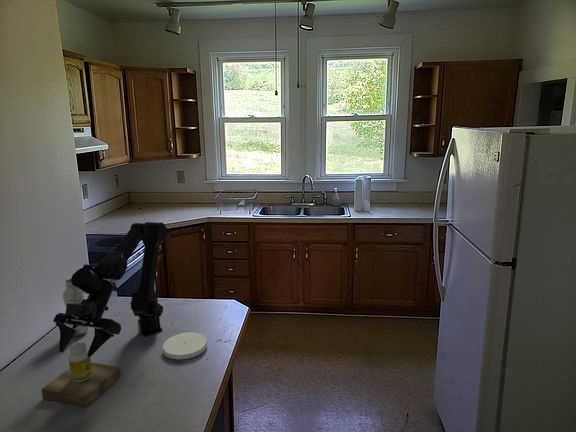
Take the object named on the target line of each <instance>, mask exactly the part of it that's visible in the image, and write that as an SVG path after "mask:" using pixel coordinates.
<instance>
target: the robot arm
mask: <svg viewBox="0 0 576 432" xmlns="http://www.w3.org/2000/svg"><path fill="white" fill-rule="evenodd" d="M167 233H168V228H167V226H166V225H165V223H164V222H155V221H154V222H153V221H146V222H135V223H132V224H131V226H130V228H129V230H128V232H127V233H126V235H125V236H124V237H123V239H122V240H121V241H120V243H119V244H118V246H116V248H114V250H113V251H112V252H111V253H109V254H107V255H105V256H104V257H102V259H101V260H100V261H99V262H98V263H97V264H96V265H95V266H94V267H93V265H91V264H83V265H82V267H81V268H78V270H76V271H75V272H74V273H73V274H72V276H71V277H70V279H71V283H72V285H74V286H75V287H77V288H78V289H80V290H82V291H83V293H84V294H88V296H87V297H86V298H84V299H83V300H82V302H81V304H77V303H67V307H66V306H65V313H64V312H59V313H57V314H55V316H54V317H53V320H52V322H53V323H55V327H58V329H59V345H58V346H59V348H58V352H59V353H61V354H62V353H63V352H65V350H66V349H67V347H68V346H69V344H70V342H71V341H72V338H73V337H74V334H75V332H76V330H75V328H76V327H78V326H85V327H88V328H93V330H94V331H93V333H94V337H93V339H92V341H91V343H90V346H89V349H88V354H87V356H88V357H90V358H91V357H92V356H93V355H94V354H95V353H96V352H97V351H98V350H99V349H100V348H101V347H102V346H104V344H105V343H107V342H108V341H109V340H110V339H111V338H115V335H120V333H121V331H122V325H121V323H119V322H117V321H116V320H114V319H112V318H105V317H103V315H104V313H105V311H106V312H107V311H108V310H109V309H110V307H109V306H107V305H108V302H109V301H110V298H111V295H112V293H113V292H118V286H117V284H116V282H113V281H119V280H121V279H122V278H123V276H124V275H125V273H126V271H127V269H128V261H129V259H130V258H131V255H132V254H133V253H134V251H135V250H136V249H137V247H138V246H139V244H140V243H141V242H142V243H143V245H144V248H143V249H144V250H143V256H142V257H143V258H142V262H141V263H142V264H141V271H140V277H139V278H140V279H139V287H138V288H137V290H136V291H134V292H132V294H131V302H130V308H131V310H132V313H133V315H134V317H138V320H137V327H138V332H140V334H142V335H143V337H147V336H151V335H154V334H157V333H159V332H162V331H163V328H162V327H161V322H160V321H161V320H160V317H161V316H162V314H163V313H164V306H163V305H161V304H160V303H159V302H158V300H159V298H158V294H157V292H156V289H155V283H156V276H157V267H158V261H159V259H158V258H159V254H160V253H159V251H160V247H162V245H163V243H164V242H165V240H166V236H167ZM109 280H113V281H109ZM72 315H73V316H72ZM74 316H75V317H74ZM76 317H78V318H76Z"/></svg>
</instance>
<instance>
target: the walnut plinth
mask: <svg viewBox="0 0 576 432" xmlns="http://www.w3.org/2000/svg"><path fill="white" fill-rule="evenodd" d="M91 365H92V373H93V374H92V376H91V377H90V378H89V379H88V380H86V381H83V382H74V381H73V380H72V378H71V371H70V367H68V369H66V370H65V371H64V372H62V373H61V374H59V375H58V376H57V377H56V378H54V379H52V380H51V381H50V382H49V383H48V384H46V385H45V386H44V387H42V388H41V396H42V399H43V400H46V401H47V400H48V401H53V402H56V403H61V404H67V405H72V406H79V407H83V408H87V407H88V406H90V405H91V404H92V403H93V402H94V401H95V400H96V399H97V398H98V397H99V396H101V394H103V393H104V392H105V391H106V390H107V389H108V388H109V387H110V386H112V384H114V383H115V382H116V381H117V380H118V379H119V378H120V377H121V367H120V366H116V365H110V364H106V363H98V362H92V361H91Z"/></svg>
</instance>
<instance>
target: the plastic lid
mask: <svg viewBox="0 0 576 432" xmlns="http://www.w3.org/2000/svg"><path fill="white" fill-rule="evenodd" d="M207 347H208V339H207V337H206V336H205V335H204V334H202V333H200V332H191V331H190V332H182V333H178V334H175V335H172V336H170V337H169V338H167V339H166V340H165V341H164V342H163V344H162V353H163V355H164V356H165V357H166V358H169V359H172V360H186V359H191V358H195V357H197V356H199V355H200V354H202V353H203V352H204V351H205V350H207Z"/></svg>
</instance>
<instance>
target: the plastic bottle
mask: <svg viewBox="0 0 576 432" xmlns="http://www.w3.org/2000/svg"><path fill="white" fill-rule="evenodd" d="M64 282H65V287H66V288H65V290H64V291H63V293H62V299H63V302H64V306H65V308H66V307H67V303H77V304H81V302H82V300H83V299H85V297H84V296H85V295H84V294H85V292H83V291H82V290H80V289H78V288H77V287H75V286H74V285H72V283H71V278H69V279H67V280H65V281H64ZM72 316H73V315H72ZM74 317H75V316H74ZM76 318H78V317H76ZM75 330H76V332H75V334H74V336H76V337H77V336H82V335H84V334H86V333H87V332H88V330H89V327H85V326H78V327H76V328H75ZM74 336H73V337H74Z"/></svg>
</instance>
